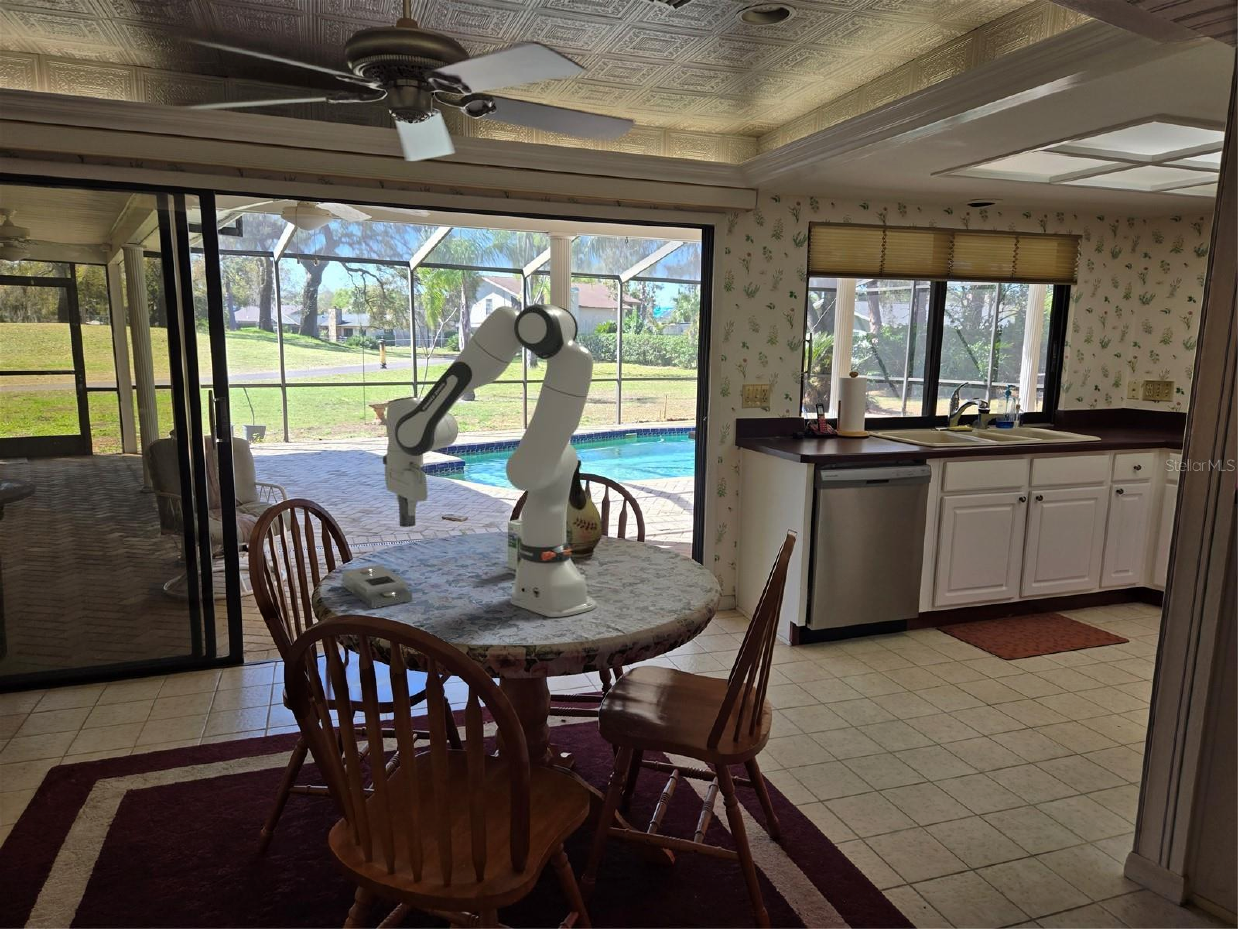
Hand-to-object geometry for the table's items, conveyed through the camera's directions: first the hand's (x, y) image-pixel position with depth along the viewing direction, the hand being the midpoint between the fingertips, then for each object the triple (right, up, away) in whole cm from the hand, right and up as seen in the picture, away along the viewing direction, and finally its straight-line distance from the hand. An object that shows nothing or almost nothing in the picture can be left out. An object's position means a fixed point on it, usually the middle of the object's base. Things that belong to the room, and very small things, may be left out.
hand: (407, 513), depth 200 cm
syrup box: (+28, -18, +14) cm, 36 cm away
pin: (0, -3, 0) cm, 3 cm away
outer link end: (-7, -20, -3) cm, 21 cm away
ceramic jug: (+42, -15, +34) cm, 56 cm away
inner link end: (-4, -20, -8) cm, 22 cm away
